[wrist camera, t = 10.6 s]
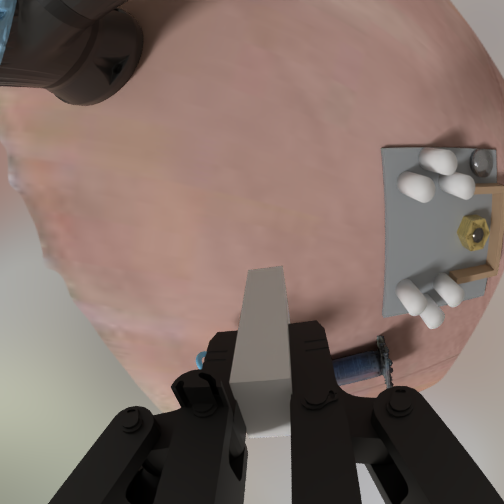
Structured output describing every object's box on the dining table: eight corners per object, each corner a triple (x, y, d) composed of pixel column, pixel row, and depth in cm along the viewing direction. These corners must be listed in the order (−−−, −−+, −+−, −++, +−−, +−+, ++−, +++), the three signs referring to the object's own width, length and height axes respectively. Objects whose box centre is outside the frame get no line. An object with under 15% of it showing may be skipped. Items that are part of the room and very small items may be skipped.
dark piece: (381, 327, 43) (311, 348, 46) (392, 351, 35) (311, 374, 38) (388, 370, 44) (324, 388, 47) (398, 396, 37) (324, 417, 39)
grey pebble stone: (468, 148, 30) (473, 148, 29) (487, 149, 29) (492, 150, 28) (469, 176, 31) (474, 177, 30) (488, 176, 31) (492, 178, 29)
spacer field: (380, 148, 32) (399, 149, 27) (492, 149, 30) (517, 153, 24) (382, 314, 40) (394, 337, 35) (481, 293, 38) (498, 310, 33)
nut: (456, 217, 33) (466, 222, 31) (481, 213, 33) (491, 217, 30) (455, 247, 35) (464, 253, 32) (480, 241, 34) (489, 247, 32)
